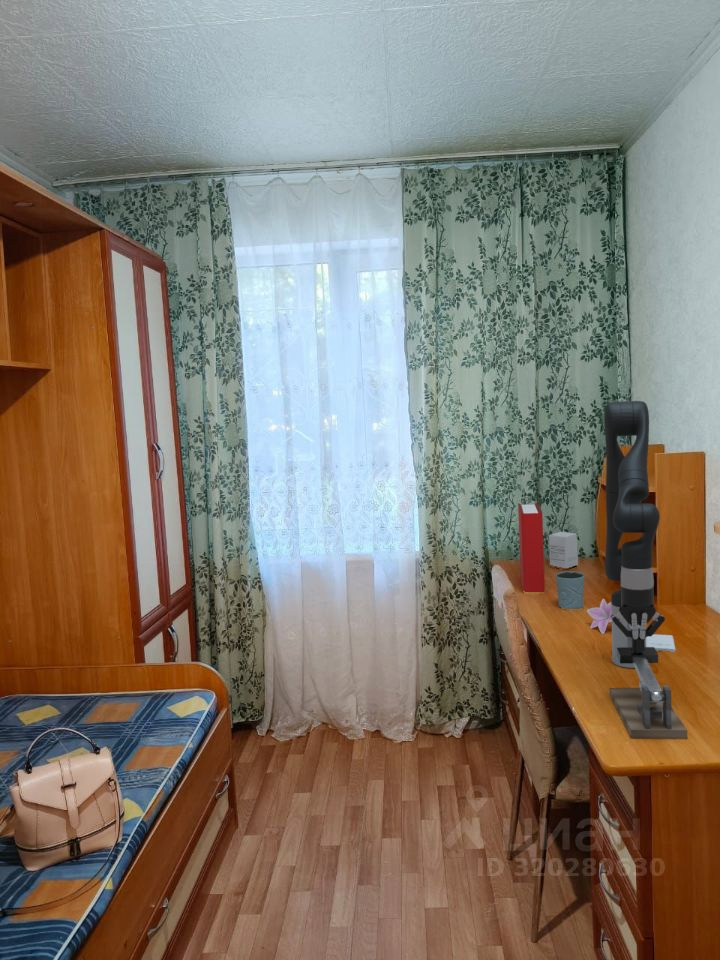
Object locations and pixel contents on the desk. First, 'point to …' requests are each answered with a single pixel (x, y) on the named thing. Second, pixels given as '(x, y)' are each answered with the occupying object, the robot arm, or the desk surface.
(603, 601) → the lily
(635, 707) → the base
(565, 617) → the desk surface
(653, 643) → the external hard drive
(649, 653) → the lever
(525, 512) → the book
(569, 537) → the supplement box
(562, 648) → the desk surface
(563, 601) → the blue plant pot
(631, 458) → the robot arm
